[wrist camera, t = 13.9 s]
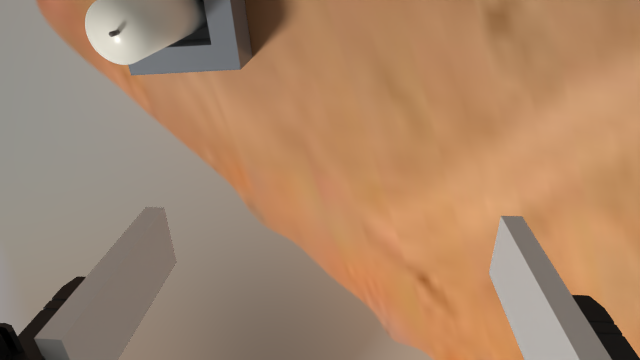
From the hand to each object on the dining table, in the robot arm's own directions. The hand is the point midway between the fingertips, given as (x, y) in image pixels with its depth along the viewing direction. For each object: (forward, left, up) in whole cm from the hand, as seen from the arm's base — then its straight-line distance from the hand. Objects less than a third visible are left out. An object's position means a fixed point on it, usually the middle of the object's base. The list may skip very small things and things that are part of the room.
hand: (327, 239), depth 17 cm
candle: (-7, -14, -27) cm, 31 cm away
